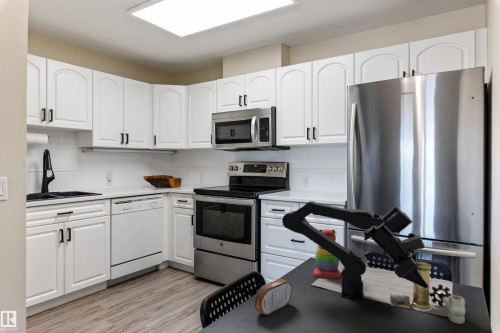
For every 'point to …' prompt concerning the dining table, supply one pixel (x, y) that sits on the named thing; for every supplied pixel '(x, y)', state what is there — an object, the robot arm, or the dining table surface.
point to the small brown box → (399, 300)
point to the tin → (273, 296)
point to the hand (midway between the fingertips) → (426, 282)
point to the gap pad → (420, 309)
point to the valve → (450, 304)
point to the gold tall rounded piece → (420, 292)
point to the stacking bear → (326, 260)
